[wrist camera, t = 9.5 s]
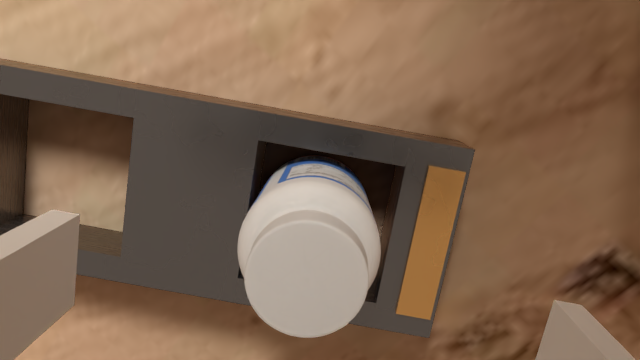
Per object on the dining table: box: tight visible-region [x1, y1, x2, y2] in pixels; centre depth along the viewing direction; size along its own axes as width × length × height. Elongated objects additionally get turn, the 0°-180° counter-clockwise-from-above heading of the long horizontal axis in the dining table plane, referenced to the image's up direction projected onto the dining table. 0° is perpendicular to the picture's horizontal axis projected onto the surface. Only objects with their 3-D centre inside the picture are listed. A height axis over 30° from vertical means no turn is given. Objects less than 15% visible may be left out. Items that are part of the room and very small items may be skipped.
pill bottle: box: [237, 155, 381, 338], centre depth 20 cm, size 6×5×10 cm
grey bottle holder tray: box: [0, 59, 475, 338], centre depth 24 cm, size 9×24×3 cm, turn 80°
